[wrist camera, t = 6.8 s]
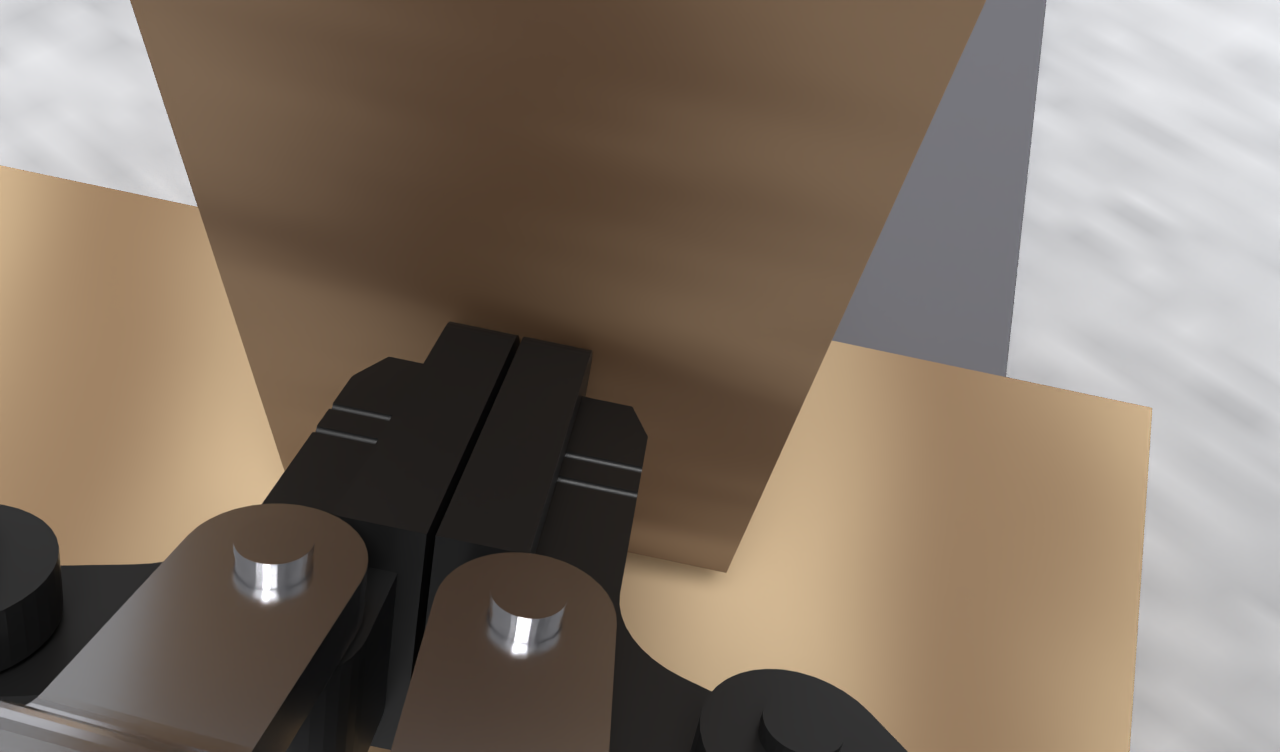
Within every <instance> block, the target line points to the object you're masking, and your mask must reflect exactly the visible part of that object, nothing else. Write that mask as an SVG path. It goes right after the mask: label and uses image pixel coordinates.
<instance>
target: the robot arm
mask: <svg viewBox="0 0 1280 752" xmlns="http://www.w3.org/2000/svg"><path fill="white" fill-rule="evenodd" d="M592 353H593V351H592V350H588V349H583V348H578V347H573V346H568V345H563V344H559V343H554V342H549V341H544V340H539V339H534V338H530V337H523V339H522V341H521V343H520V338H519V335H514V334H509V333H504V332H499V331H495V330H490V329H485V328H480V327H475V326H470V325H466V324H461V323H456V322H448V323H447V325H446V326H445V328H444V330H443V331H442V333H441V335H440V336H439V338H438V340H437V341H436V343H435V345H434V346H433V348H432V350H431V351H430V353H429V355H428V356H427V358H426V360H425V362H424V363H418V362H413V361H408V360H404V359H399V358H394V357H387V358H385V359H383V360H381V361H379V362H377V363H375V364H374V365H372V366H370V367H368V368H366V369H364V370H362V371H360V372H358V373H357V374H355V375H353V376H352V377H351V378H350V379H349V381H348V382H347V384H346V385H345V387H344V388H343V389H342V391H341V392H340V394H339V395H338V396H337V398H336V399H335V401H334V402H333V405H332V409H328V411H327V412H326V413H325V415H324V416H323V418H322V419H321V421H320V422H319V423H318V425H317V428H316V432H312V433H311V435H310V436H309V438H308V439H307V440H306V442H305V443H304V445H303V446H302V448H301V449H300V450H299V452H298V453H297V455H296V456H295V457H294V459H293V460H292V462H291V463H290V465H289V466H288V467H287V469H286V470H285V472H284V473H283V474H282V476H281V477H280V479H279V480H278V482H277V483H276V484H275V486H274V487H273V489H272V490H271V491H270V493H269V494H268V496H267V497H266V499H265V500H264V501H263V503H262V504H259V505H251V506H246V507H241V508H237V509H233V510H230V511H227V512H224V513H221V514H219V515H217V516H215V517H213V518H211V519H209V520H207V521H205V522H204V523H202V524H201V525H199V526H198V527H196V528H195V529H194V530H193V531H192V532H191V533H190V534H189V535H187V537H186V538H185V539H184V540H183V541H182V542H181V543H180V544H179V545H178V546H177V547H176V548H175V549H174V551H173V552H172V553H171V554H170V555H169V556H168V557H167V558H166V559H165V560H164V561H163V562H157V563H147V564H122V565H60V553H59V545H58V541H57V537H56V535H55V534H54V532H53V530H52V529H51V528H50V527H49V526H48V525H47V524H46V523H45V522H44V521H43V520H41V519H40V518H38V517H36V516H35V515H33V514H31V513H29V512H26V511H24V510H21V509H19V508H15V507H11V506H6V505H1V504H0V752H368V750H369V747H370V746H373V747H378V748H383V749H388V750H391V752H908V751H907V750H906V749H905V748H904V747H903V746H902V745H901V744H900V743H899V742H898V741H897V740H896V739H895V738H894V737H893V736H892V735H891V734H890V733H889V732H888V731H887V730H886V729H885V727H884V726H883V725H882V724H881V723H880V722H879V721H878V720H877V719H876V718H875V717H874V716H873V715H872V714H871V713H870V712H869V711H868V710H867V709H866V708H865V707H864V706H862V705H861V704H860V703H859V702H858V701H857V700H855V699H854V698H853V697H851V696H850V695H849V694H847V693H846V692H844V691H843V690H841V689H839V688H837V687H835V686H834V685H832V684H830V683H828V682H825V681H823V680H821V679H818V678H816V677H813V676H810V675H807V674H803V673H800V672H795V671H789V670H783V669H759V670H751V671H747V672H743V673H739V674H737V675H734V676H732V677H730V678H728V679H726V680H725V681H723V682H722V683H720V684H719V685H718V686H716V687H715V689H714V690H713V691H710V690H708V689H706V688H704V687H701V686H699V685H697V684H695V683H693V682H691V681H689V680H687V679H685V678H683V677H681V676H679V675H677V674H675V673H673V672H672V671H670V670H668V669H666V668H665V667H664V666H662V665H661V664H659V663H658V662H656V661H655V660H654V659H652V658H651V657H650V656H649V655H648V654H647V653H646V652H645V651H644V650H643V649H642V648H641V647H640V646H639V645H638V644H637V642H636V641H635V640H634V639H633V638H632V636H631V634H630V633H629V631H628V629H627V628H626V626H625V623H624V621H623V618H622V615H621V610H620V591H621V586H622V580H623V575H624V569H625V563H626V558H627V552H628V546H629V541H630V535H631V529H632V524H633V518H634V513H635V507H636V501H637V495H638V490H639V484H640V479H641V472H642V467H643V462H644V456H645V451H646V445H647V439H648V436H647V434H646V432H645V430H644V428H643V426H642V424H641V422H640V420H639V418H638V416H637V414H636V413H635V411H634V409H633V407H632V406H627V405H622V404H618V403H613V402H608V401H603V400H598V399H593V398H589V397H585V396H586V390H587V385H588V379H589V374H590V368H591V362H592Z"/></svg>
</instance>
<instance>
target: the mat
mask: <svg viewBox="0 0 1280 752" xmlns="http://www.w3.org/2000/svg"><path fill="white" fill-rule="evenodd" d="M1045 8H1046V0H986V2H985V4H984V6H983V9H982V11H981V13H980V15H979V17H978V20H977V22H976V24H975V26H974V28H973V31H972V33H971V35H970V37H969V39H968V42H967V44H966V46H965V48H964V50H963V53H962V55H961V57H960V59H959V61H958V64H957V66H956V68H955V70H954V72H953V75H952V77H951V79H950V81H949V83H948V86H947V88H946V90H945V92H944V95H943V97H942V99H941V101H940V103H939V106H938V108H937V110H936V112H935V114H934V117H933V119H932V121H931V123H930V125H929V128H928V130H927V132H926V134H925V136H924V139H923V141H922V143H921V145H920V147H919V150H918V152H917V154H916V156H915V158H914V161H913V163H912V165H911V167H910V169H909V172H908V174H907V176H906V178H905V180H904V183H903V185H902V187H901V189H900V191H899V194H898V196H897V198H896V200H895V202H894V205H893V207H892V209H891V211H890V213H889V216H888V218H887V220H886V222H885V225H884V227H883V229H882V231H881V233H880V236H879V238H878V240H877V242H876V244H875V247H874V249H873V251H872V253H871V255H870V258H869V260H868V262H867V264H866V266H865V269H864V271H863V273H862V275H861V277H860V280H859V282H858V284H857V286H856V288H855V291H854V293H853V295H852V297H851V299H850V302H849V304H848V306H847V308H846V310H845V313H844V315H843V317H842V319H841V321H840V324H839V326H838V328H837V330H836V332H835V335H834V337H833V339H832V341H837V342H841V343H846V344H851V345H856V346H860V347H865V348H870V349H875V350H879V351H884V352H889V353H894V354H898V355H903V356H908V357H913V358H917V359H922V360H927V361H932V362H936V363H941V364H946V365H951V366H955V367H960V368H965V369H970V370H974V371H979V372H984V373H989V374H993V375H998V376H1003V377H1006V369H1007V360H1008V351H1009V341H1010V332H1011V323H1012V314H1013V304H1014V295H1015V286H1016V277H1017V267H1018V258H1019V249H1020V239H1021V230H1022V221H1023V212H1024V202H1025V193H1026V184H1027V175H1028V165H1029V156H1030V147H1031V137H1032V128H1033V119H1034V110H1035V100H1036V91H1037V82H1038V73H1039V63H1040V54H1041V45H1042V35H1043V26H1044V17H1045Z"/></svg>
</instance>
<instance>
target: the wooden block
mask: <svg viewBox="0 0 1280 752" xmlns="http://www.w3.org/2000/svg"><path fill="white" fill-rule="evenodd" d="M1151 419H1152V408H1150V407H1145V406H1141V405H1136V404H1131V403H1126V402H1122V401H1117V400H1112V399H1107V398H1103V397H1098V396H1093V395H1088V394H1084V393H1079V392H1074V391H1069V390H1065V389H1060V388H1055V387H1050V386H1046V385H1041V384H1036V383H1031V382H1027V381H1022V380H1017V379H1012V378H1008V377H1003V376H998V375H993V374H989V373H984V372H979V371H974V370H970V369H965V368H960V367H955V366H951V365H946V364H941V363H936V362H932V361H927V360H922V359H917V358H913V357H908V356H903V355H898V354H894V353H889V352H884V351H879V350H875V349H870V348H865V347H860V346H856V345H851V344H846V343H841V342H837V341H831V343H830V346H829V348H828V350H827V352H826V355H825V357H824V359H823V361H822V363H821V366H820V368H819V370H818V372H817V374H816V377H815V379H814V381H813V383H812V385H811V388H810V390H809V392H808V394H807V396H806V399H805V401H804V403H803V405H802V407H801V410H800V412H799V414H798V416H797V418H796V421H795V423H794V425H793V427H792V429H791V432H790V434H789V436H788V438H787V440H786V443H785V445H784V447H783V449H782V451H781V454H780V456H779V458H778V460H777V462H776V465H775V467H774V469H773V471H772V473H771V476H770V478H769V480H768V482H767V484H766V487H765V489H764V491H763V493H762V496H761V498H760V500H759V502H758V504H757V507H756V509H755V511H754V513H753V515H752V518H751V520H750V522H749V524H748V526H747V529H746V531H745V533H744V535H743V537H742V540H741V542H740V544H739V546H738V548H737V551H736V553H735V555H734V557H733V559H732V562H731V564H730V566H729V568H728V570H727V573H724V572H719V571H715V570H710V569H705V568H700V567H696V566H691V565H686V564H681V563H677V562H672V561H667V560H663V559H658V558H653V557H648V556H644V555H639V554H634V553H629V552H627V558H626V563H625V569H624V575H623V580H622V586H621V591H620V610H621V615H622V618H623V621H624V623H625V626H626V628H627V629H628V631H629V633H630V634H631V636H632V638H633V639H634V640H635V641H636V642H637V644H638V645H639V646H640V647H641V648H642V649H643V650H644V651H645V652H646V653H647V654H648V655H649V656H650V657H651V658H652V659H654V660H655V661H656V662H658V663H659V664H661V665H662V666H664V667H665V668H666V669H668V670H670V671H672V672H673V673H675V674H677V675H679V676H681V677H683V678H685V679H687V680H689V681H691V682H693V683H695V684H697V685H699V686H701V687H704V688H706V689H708V690H710V691H713V690H714V689H715V687H716V686H718V685H719V684H720V683H722V682H723V681H725V680H726V679H728V678H730V677H732V676H734V675H737V674H739V673H743V672H747V671H751V670H759V669H783V670H789V671H795V672H800V673H803V674H807V675H810V676H813V677H816V678H818V679H821V680H823V681H825V682H828V683H830V684H832V685H834V686H835V687H837V688H839V689H841V690H843V691H844V692H846V693H847V694H849V695H850V696H851V697H853V698H854V699H855V700H857V701H858V702H859V703H860V704H861V705H862V706H864V707H865V708H866V709H867V710H868V711H869V712H870V713H871V714H872V715H873V716H874V717H875V718H876V719H877V720H878V721H879V722H880V723H881V724H882V725H883V726H884V727H885V729H886V730H887V731H888V732H889V733H890V734H891V735H892V736H893V737H894V738H895V739H896V740H897V741H898V742H899V743H900V744H901V745H902V746H903V747H904V748H905V749H906V750H907V751H908V752H1130V737H1131V722H1132V706H1133V691H1134V676H1135V661H1136V646H1137V631H1138V616H1139V600H1140V585H1141V570H1142V555H1143V540H1144V525H1145V510H1146V494H1147V479H1148V464H1149V449H1150V434H1151ZM284 472H285V471H284V468H283V465H282V462H281V459H280V456H279V453H278V450H277V447H276V444H275V441H274V437H273V434H272V431H271V428H270V425H269V422H268V419H267V416H266V413H265V410H264V407H263V404H262V401H261V398H260V395H259V392H258V389H257V386H256V383H255V380H254V376H253V373H252V370H251V367H250V364H249V361H248V358H247V355H246V352H245V349H244V346H243V343H242V340H241V337H240V334H239V331H238V328H237V325H236V322H235V319H234V315H233V312H232V309H231V306H230V303H229V300H228V297H227V294H226V291H225V288H224V285H223V282H222V279H221V276H220V273H219V270H218V267H217V264H216V261H215V258H214V254H213V251H212V248H211V245H210V242H209V239H208V236H207V233H206V230H205V227H204V224H203V221H202V218H201V215H200V212H199V209H198V207H195V206H190V205H186V204H181V203H176V202H171V201H167V200H162V199H157V198H152V197H148V196H143V195H138V194H133V193H129V192H124V191H119V190H114V189H110V188H105V187H100V186H95V185H91V184H86V183H81V182H76V181H72V180H67V179H62V178H57V177H53V176H48V175H43V174H38V173H34V172H29V171H24V170H19V169H15V168H10V167H5V166H0V504H1V505H6V506H11V507H15V508H19V509H21V510H24V511H26V512H29V513H31V514H33V515H35V516H36V517H38V518H40V519H41V520H43V521H44V522H45V523H46V524H47V525H48V526H49V527H50V528H51V529H52V530H53V532H54V534H55V535H56V537H57V541H58V545H59V553H60V565H122V564H147V563H157V562H163V561H164V560H165V559H166V558H167V557H168V556H169V555H170V554H171V553H172V552H173V551H174V549H175V548H176V547H177V546H178V545H179V544H180V543H181V542H182V541H183V540H184V539H185V538H186V537H187V535H189V534H190V533H191V532H192V531H193V530H194V529H195V528H196V527H198V526H199V525H201V524H202V523H204V522H205V521H207V520H209V519H211V518H213V517H215V516H217V515H219V514H221V513H224V512H227V511H230V510H233V509H237V508H241V507H246V506H251V505H259V504H262V503H263V501H264V500H265V499H266V497H267V496H268V494H269V493H270V491H271V490H272V489H273V487H274V486H275V484H276V483H277V482H278V480H279V479H280V477H281V476H282V474H283V473H284ZM368 752H391V750H388V749H383V748H378V747H373V746H370V747H369V750H368Z"/></svg>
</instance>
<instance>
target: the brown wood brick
mask: <svg viewBox="0 0 1280 752" xmlns="http://www.w3.org/2000/svg"><path fill="white" fill-rule="evenodd" d="M130 1H131V4H132V7H133V10H134V14H135V17H136V20H137V23H138V26H139V29H140V32H141V35H142V38H143V41H144V44H145V47H146V50H147V53H148V56H149V59H150V62H151V65H152V68H153V71H154V75H155V78H156V81H157V84H158V87H159V90H160V93H161V96H162V99H163V102H164V105H165V108H166V111H167V114H168V117H169V120H170V123H171V126H172V129H173V132H174V136H175V139H176V142H177V145H178V148H179V151H180V154H181V157H182V160H183V163H184V166H185V169H186V172H187V175H188V178H189V181H190V184H191V187H192V190H193V193H194V197H195V200H196V203H197V206H198V209H199V212H200V215H201V218H202V221H203V224H204V227H205V230H206V233H207V236H208V239H209V242H210V245H211V248H212V251H213V254H214V258H215V261H216V264H217V267H218V270H219V273H220V276H221V279H222V282H223V285H224V288H225V291H226V294H227V297H228V300H229V303H230V306H231V309H232V312H233V315H234V319H235V322H236V325H237V328H238V331H239V334H240V337H241V340H242V343H243V346H244V349H245V352H246V355H247V358H248V361H249V364H250V367H251V370H252V373H253V376H254V380H255V383H256V386H257V389H258V392H259V395H260V398H261V401H262V404H263V407H264V410H265V413H266V416H267V419H268V422H269V425H270V428H271V431H272V434H273V437H274V441H275V444H276V447H277V450H278V453H279V456H280V459H281V462H282V465H283V468H284V471H285V470H286V469H287V467H288V466H289V465H290V463H291V462H292V460H293V459H294V457H295V456H296V455H297V453H298V452H299V450H300V449H301V448H302V446H303V445H304V443H305V442H306V440H307V439H308V438H309V436H310V435H311V433H312V432H316V428H317V425H318V423H319V422H320V421H321V419H322V418H323V416H324V415H325V413H326V412H327V411H328V409H332V405H333V402H334V401H335V399H336V398H337V396H338V395H339V394H340V392H341V391H342V389H343V388H344V387H345V385H346V384H347V382H348V381H349V379H350V378H351V377H352V376H353V375H355V374H357V373H358V372H360V371H362V370H364V369H366V368H368V367H370V366H372V365H374V364H375V363H377V362H379V361H381V360H383V359H385V358H387V357H394V358H399V359H404V360H408V361H413V362H418V363H424V362H425V360H426V358H427V356H428V355H429V353H430V351H431V350H432V348H433V346H434V345H435V343H436V341H437V340H438V338H439V336H440V335H441V333H442V331H443V330H444V328H445V326H446V325H447V323H448V322H456V323H461V324H466V325H470V326H475V327H480V328H485V329H490V330H495V331H499V332H504V333H509V334H514V335H519V338H520V343H521V341H522V339H523V337H530V338H534V339H539V340H544V341H549V342H554V343H559V344H563V345H568V346H573V347H578V348H583V349H588V350H592V351H593V353H592V362H591V368H590V374H589V379H588V385H587V390H586V396H585V397H589V398H593V399H598V400H603V401H608V402H613V403H618V404H622V405H627V406H632V407H633V409H634V411H635V413H636V414H637V416H638V418H639V420H640V422H641V424H642V426H643V428H644V430H645V432H646V434H647V436H648V439H647V445H646V451H645V456H644V462H643V467H642V472H641V479H640V484H639V490H638V495H637V501H636V507H635V513H634V518H633V524H632V529H631V535H630V541H629V546H628V552H629V553H634V554H639V555H644V556H648V557H653V558H658V559H663V560H667V561H672V562H677V563H681V564H686V565H691V566H696V567H700V568H705V569H710V570H715V571H719V572H724V573H727V570H728V568H729V566H730V564H731V562H732V559H733V557H734V555H735V553H736V551H737V548H738V546H739V544H740V542H741V540H742V537H743V535H744V533H745V531H746V529H747V526H748V524H749V522H750V520H751V518H752V515H753V513H754V511H755V509H756V507H757V504H758V502H759V500H760V498H761V496H762V493H763V491H764V489H765V487H766V484H767V482H768V480H769V478H770V476H771V473H772V471H773V469H774V467H775V465H776V462H777V460H778V458H779V456H780V454H781V451H782V449H783V447H784V445H785V443H786V440H787V438H788V436H789V434H790V432H791V429H792V427H793V425H794V423H795V421H796V418H797V416H798V414H799V412H800V410H801V407H802V405H803V403H804V401H805V399H806V396H807V394H808V392H809V390H810V388H811V385H812V383H813V381H814V379H815V377H816V374H817V372H818V370H819V368H820V366H821V363H822V361H823V359H824V357H825V355H826V352H827V350H828V348H829V346H830V343H831V341H832V339H833V337H834V335H835V332H836V330H837V328H838V326H839V324H840V321H841V319H842V317H843V315H844V313H845V310H846V308H847V306H848V304H849V302H850V299H851V297H852V295H853V293H854V291H855V288H856V286H857V284H858V282H859V280H860V277H861V275H862V273H863V271H864V269H865V266H866V264H867V262H868V260H869V258H870V255H871V253H872V251H873V249H874V247H875V244H876V242H877V240H878V238H879V236H880V233H881V231H882V229H883V227H884V225H885V222H886V220H887V218H888V216H889V213H890V211H891V209H892V207H893V205H894V202H895V200H896V198H897V196H898V194H899V191H900V189H901V187H902V185H903V183H904V180H905V178H906V176H907V174H908V172H909V169H910V167H911V165H912V163H913V161H914V158H915V156H916V154H917V152H918V150H919V147H920V145H921V143H922V141H923V139H924V136H925V134H926V132H927V130H928V128H929V125H930V123H931V121H932V119H933V117H934V114H935V112H936V110H937V108H938V106H939V103H940V101H941V99H942V97H943V95H944V92H945V90H946V88H947V86H948V83H949V81H950V79H951V77H952V75H953V72H954V70H955V68H956V66H957V64H958V61H959V59H960V57H961V55H962V53H963V50H964V48H965V46H966V44H967V42H968V39H969V37H970V35H971V33H972V31H973V28H974V26H975V24H976V22H977V20H978V17H979V15H980V13H981V11H982V9H983V6H984V4H985V2H986V0H130Z"/></svg>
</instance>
